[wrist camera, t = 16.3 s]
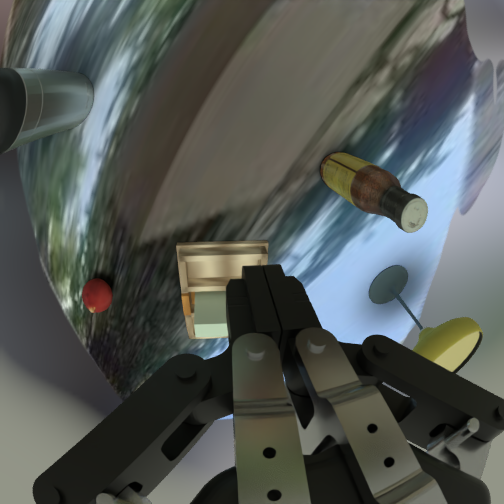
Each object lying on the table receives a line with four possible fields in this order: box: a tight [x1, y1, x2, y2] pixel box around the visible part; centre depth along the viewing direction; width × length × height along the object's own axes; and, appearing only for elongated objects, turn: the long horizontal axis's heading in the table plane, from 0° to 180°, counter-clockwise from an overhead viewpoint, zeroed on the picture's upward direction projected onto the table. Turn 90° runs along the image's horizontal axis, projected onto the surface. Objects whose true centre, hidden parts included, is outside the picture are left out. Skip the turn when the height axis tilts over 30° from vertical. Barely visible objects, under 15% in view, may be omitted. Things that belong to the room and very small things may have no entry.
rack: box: [176, 240, 268, 339], centre depth 48 cm, size 15×20×4 cm
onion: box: [82, 279, 113, 313], centre depth 42 cm, size 6×6×8 cm
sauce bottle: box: [320, 152, 428, 233], centre depth 33 cm, size 6×6×20 cm
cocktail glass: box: [369, 265, 483, 374], centre depth 46 cm, size 18×18×25 cm
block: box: [194, 291, 228, 337], centre depth 45 cm, size 10×3×9 cm, turn 87°
